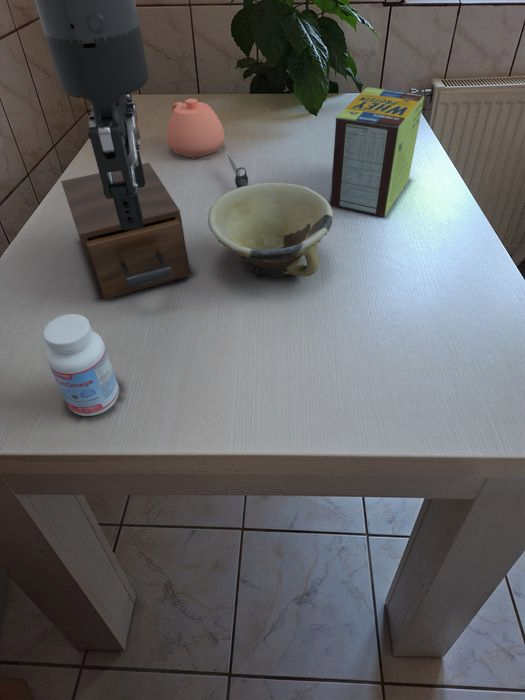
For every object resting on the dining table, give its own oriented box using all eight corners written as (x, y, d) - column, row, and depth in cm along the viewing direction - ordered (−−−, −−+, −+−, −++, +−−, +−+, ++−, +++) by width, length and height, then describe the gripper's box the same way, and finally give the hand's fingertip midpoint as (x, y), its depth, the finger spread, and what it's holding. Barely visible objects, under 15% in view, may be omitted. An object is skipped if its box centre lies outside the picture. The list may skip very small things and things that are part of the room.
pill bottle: (58, 413, 58) (23, 344, 50) (84, 375, 62) (54, 305, 54) (106, 422, 56) (77, 353, 48) (129, 382, 61) (105, 313, 53)
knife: (221, 163, 101) (220, 139, 97) (233, 162, 101) (231, 138, 98) (246, 214, 89) (245, 189, 85) (258, 212, 89) (258, 187, 85)
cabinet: (190, 273, 76) (179, 210, 68) (100, 298, 72) (78, 234, 65) (160, 222, 87) (149, 162, 79) (81, 241, 83) (60, 180, 76)
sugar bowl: (189, 167, 102) (181, 115, 95) (154, 146, 110) (145, 97, 102) (236, 150, 107) (233, 100, 100) (200, 131, 115) (194, 83, 108)
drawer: (200, 296, 71) (192, 242, 64) (112, 321, 67) (94, 267, 61) (161, 226, 84) (151, 176, 78) (86, 244, 81) (69, 193, 75)
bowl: (191, 264, 78) (182, 208, 71) (278, 222, 86) (277, 169, 79) (264, 319, 68) (261, 261, 61) (354, 267, 76) (360, 210, 69)
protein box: (409, 180, 95) (425, 93, 84) (384, 218, 86) (399, 126, 75) (357, 170, 99) (366, 85, 88) (328, 205, 89) (334, 116, 78)
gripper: (56, 7, 45) (103, 178, 56) (26, 50, 35) (91, 248, 46) (140, 1, 45) (170, 171, 57) (135, 42, 35) (172, 239, 47)
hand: (134, 206), depth 51 cm, fingers open, 8 cm apart
